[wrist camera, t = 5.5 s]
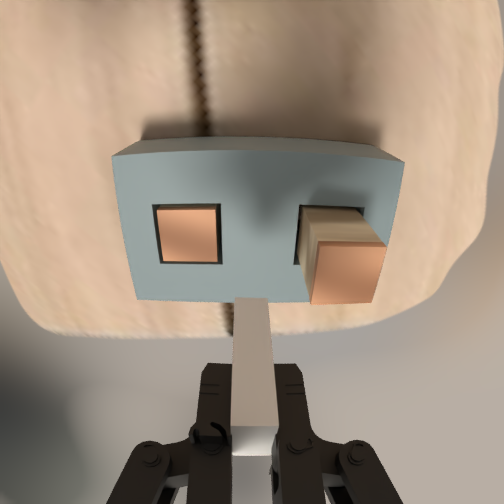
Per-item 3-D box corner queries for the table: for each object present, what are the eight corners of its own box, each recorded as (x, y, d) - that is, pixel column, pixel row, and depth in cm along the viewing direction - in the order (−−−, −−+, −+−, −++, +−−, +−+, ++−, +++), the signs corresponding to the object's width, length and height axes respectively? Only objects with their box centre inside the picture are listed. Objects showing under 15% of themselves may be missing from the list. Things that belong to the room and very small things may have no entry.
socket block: (139, 140, 23) (111, 156, 18) (372, 145, 24) (404, 162, 18) (154, 261, 29) (137, 299, 24) (353, 262, 30) (372, 299, 24)
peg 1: (175, 183, 25) (156, 210, 20) (221, 182, 25) (215, 209, 20) (178, 225, 27) (163, 260, 22) (222, 225, 27) (217, 261, 22)
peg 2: (301, 204, 21) (320, 246, 16) (354, 206, 21) (387, 247, 16) (296, 253, 23) (310, 304, 18) (346, 254, 23) (371, 302, 18)
